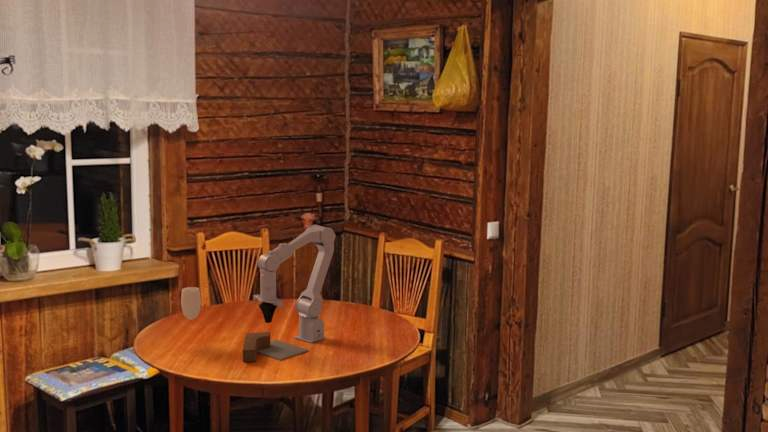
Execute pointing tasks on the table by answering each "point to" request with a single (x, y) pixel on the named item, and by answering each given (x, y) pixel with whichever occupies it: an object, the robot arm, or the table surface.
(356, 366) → the table surface
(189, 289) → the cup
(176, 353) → the table surface
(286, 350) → the mat
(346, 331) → the table surface
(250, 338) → the wooden block
